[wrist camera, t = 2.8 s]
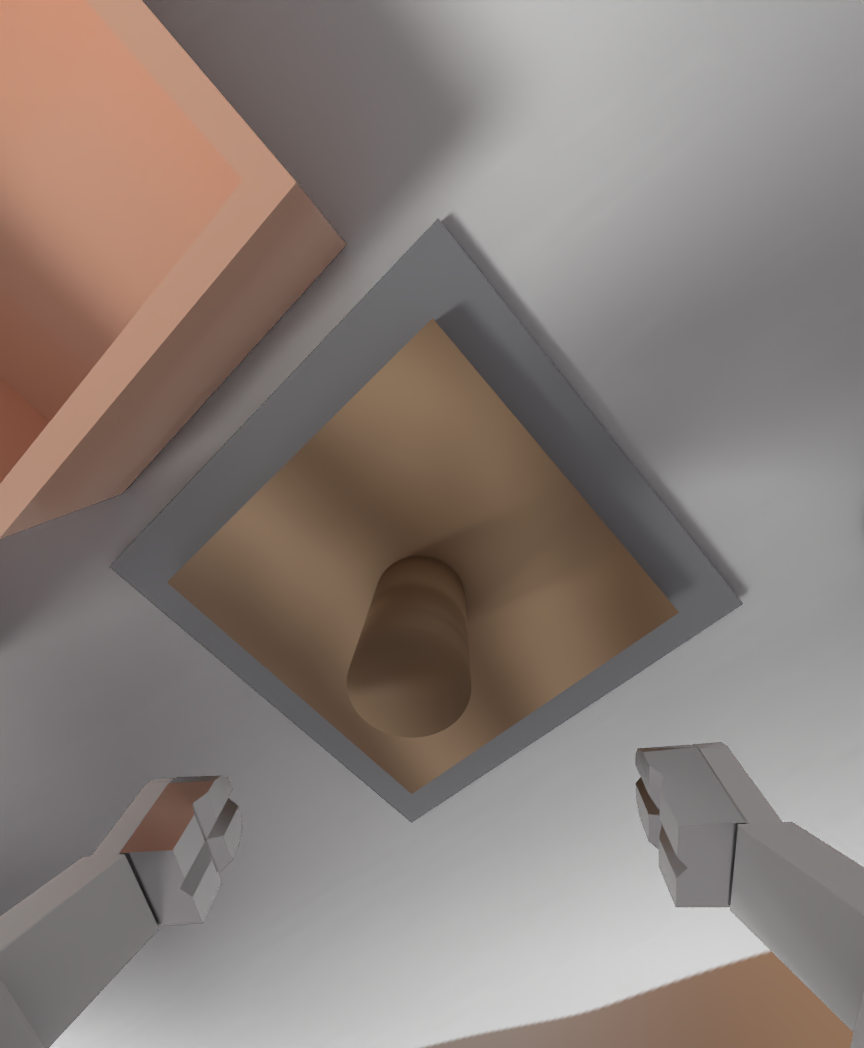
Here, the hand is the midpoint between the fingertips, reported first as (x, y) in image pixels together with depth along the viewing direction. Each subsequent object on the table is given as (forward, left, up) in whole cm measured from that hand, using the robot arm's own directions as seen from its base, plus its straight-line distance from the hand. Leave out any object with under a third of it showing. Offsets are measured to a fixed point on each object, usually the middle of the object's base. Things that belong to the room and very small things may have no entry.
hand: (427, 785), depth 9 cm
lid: (0, +1, -9) cm, 9 cm away
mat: (0, +1, -9) cm, 9 cm away
